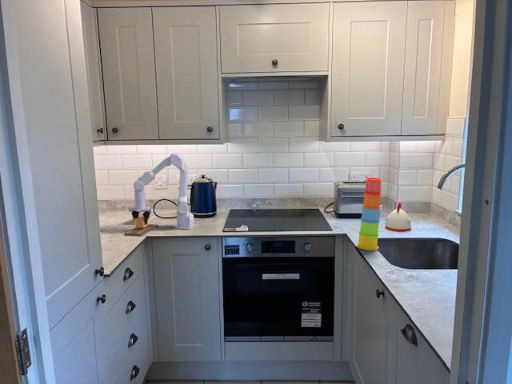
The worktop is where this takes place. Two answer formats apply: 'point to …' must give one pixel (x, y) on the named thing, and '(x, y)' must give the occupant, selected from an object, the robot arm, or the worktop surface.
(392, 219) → the cream dome
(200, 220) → the worktop surface
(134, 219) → the candy box
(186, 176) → the robot arm
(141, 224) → the orange cube
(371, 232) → the stacking cups
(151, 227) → the walnut board
